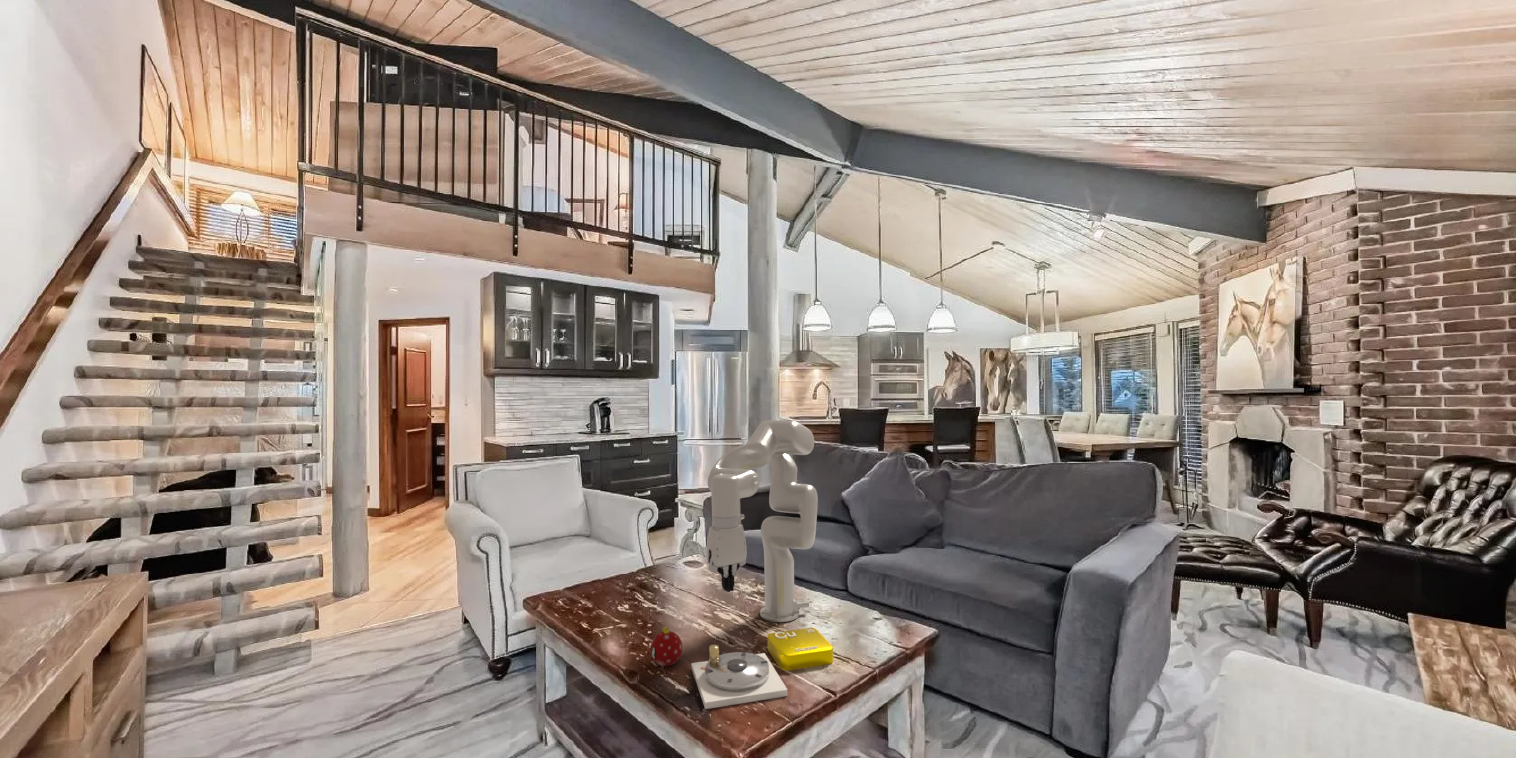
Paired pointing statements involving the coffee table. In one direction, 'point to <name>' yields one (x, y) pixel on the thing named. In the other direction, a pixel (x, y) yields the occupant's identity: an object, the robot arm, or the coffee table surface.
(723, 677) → the rotary dial
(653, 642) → the christmas ornament
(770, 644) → the element tile
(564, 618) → the coffee table surface
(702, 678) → the base plate
